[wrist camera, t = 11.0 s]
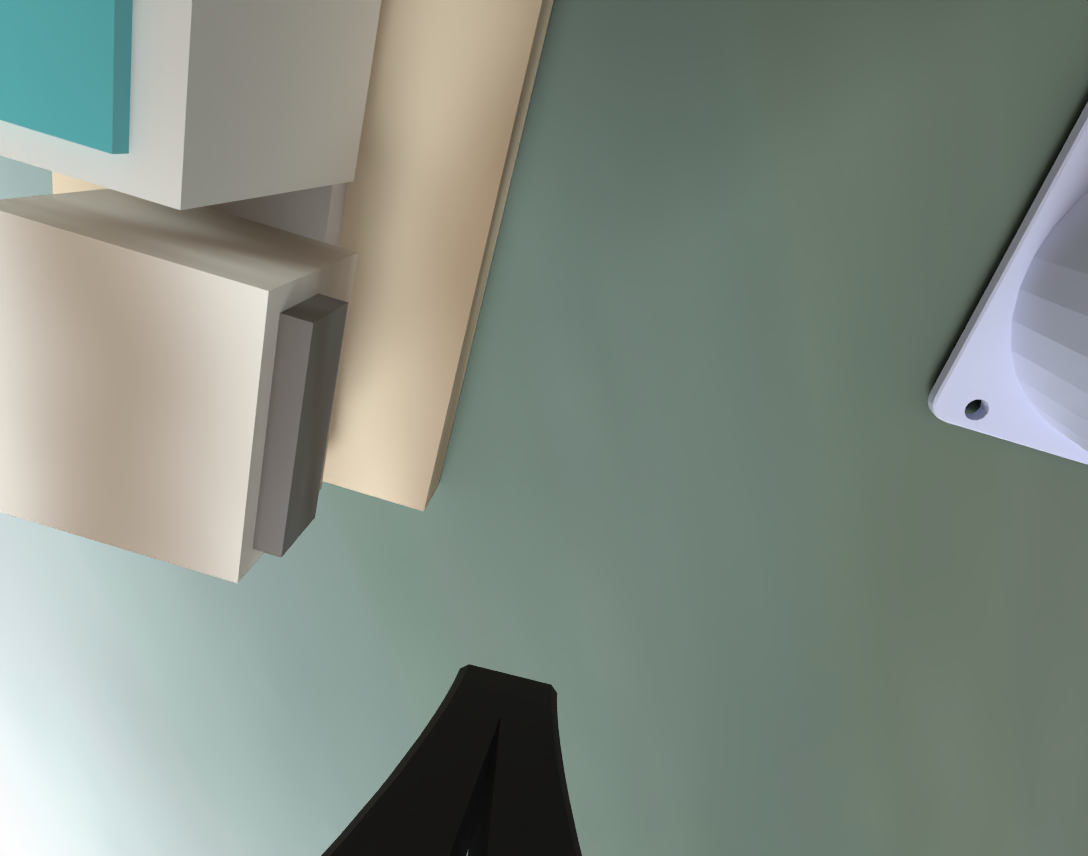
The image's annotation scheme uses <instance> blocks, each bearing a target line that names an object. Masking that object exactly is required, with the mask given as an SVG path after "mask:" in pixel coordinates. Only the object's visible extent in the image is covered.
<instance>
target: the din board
mask: <svg viewBox="0 0 1088 856" xmlns="http://www.w3.org/2000/svg"><path fill="white" fill-rule="evenodd" d="M553 2H554V0H382V1H381V8H380V14H379V21H378V27H377V34H376V40H375V47H374V53H373V60H372V66H371V73H370V79H369V86H368V92H367V99H366V105H365V112H364V118H363V124H362V131H361V137H360V144H359V150H358V157H357V163H356V170H355V176H354V181H352V182H346V183H340V184H334V185H328V186H322V187H316V188H310V189H304V190H298V191H292V192H286V193H280V194H274V195H268V196H262V197H257V198H251V199H245V200H239V201H233V202H227V203H221V204H215V205H209V206H203V207H197V208H191V209H185V210H178V209H174V208H171V207H168V206H165V205H161V204H158V203H155V202H152V201H148V200H145V199H142V198H138V197H135V196H132V195H129V194H125V193H122V192H119V191H116V190H112V189H109V188H106V187H102V186H99V185H96V184H93V183H89V182H86V181H83V180H80V179H76V178H73V177H70V176H66V175H63V174H60V173H57V172H53V171H52V179H53V194H51V195H41V196H32V197H22V198H12V199H3V200H0V512H2V513H5V514H9V515H12V516H15V517H19V518H22V519H25V520H29V521H32V522H35V523H39V524H42V525H45V526H48V527H52V528H55V529H58V530H62V531H65V532H68V533H72V534H75V535H78V536H82V537H85V538H88V539H92V540H95V541H98V542H102V543H105V544H108V545H112V546H115V547H118V548H122V549H125V550H128V551H132V552H135V553H138V554H142V555H145V556H148V557H152V558H155V559H158V560H162V561H165V562H168V563H172V564H175V565H178V566H182V567H185V568H188V569H192V570H195V571H198V572H202V573H205V574H208V575H212V576H215V577H218V578H222V579H225V580H228V581H232V582H235V583H238V582H239V581H240V580H241V579H242V578H243V576H244V575H245V574H246V573H247V572H248V571H249V570H250V569H251V567H252V566H253V565H254V564H255V563H256V562H257V561H258V559H259V558H260V557H261V556H262V555H263V554H264V553H268V554H271V555H275V556H278V557H282V556H283V555H284V554H285V552H286V551H287V550H288V549H289V548H290V546H291V545H292V544H293V543H294V542H295V540H296V539H297V538H298V537H299V536H300V534H301V533H302V532H303V531H304V530H305V528H306V527H307V526H308V525H309V524H310V522H311V521H312V520H313V519H314V518H315V513H316V506H317V500H318V494H319V490H320V489H321V486H322V481H324V482H327V483H331V484H334V485H337V486H341V487H344V488H347V489H351V490H354V491H357V492H361V493H364V494H367V495H371V496H374V497H377V498H381V499H384V500H387V501H391V502H394V503H397V504H401V505H404V506H407V507H411V508H414V509H417V510H421V511H424V510H425V508H426V507H427V505H428V503H429V501H430V499H431V498H432V496H433V494H434V492H435V490H436V489H437V487H438V485H439V481H440V477H441V472H442V468H443V464H444V460H445V456H446V451H447V447H448V443H449V439H450V435H451V430H452V426H453V422H454V418H455V414H456V409H457V405H458V401H459V397H460V393H461V388H462V384H463V380H464V376H465V372H466V367H467V363H468V359H469V355H470V351H471V346H472V342H473V338H474V334H475V330H476V325H477V321H478V317H479V313H480V309H481V304H482V300H483V296H484V292H485V288H486V283H487V279H488V275H489V271H490V266H491V262H492V258H493V254H494V250H495V245H496V241H497V237H498V233H499V229H500V224H501V220H502V216H503V212H504V208H505V203H506V199H507V195H508V191H509V187H510V182H511V178H512V174H513V170H514V166H515V161H516V157H517V153H518V149H519V145H520V140H521V136H522V132H523V128H524V124H525V119H526V115H527V111H528V107H529V103H530V98H531V94H532V90H533V86H534V82H535V77H536V73H537V69H538V65H539V60H540V56H541V52H542V48H543V44H544V39H545V35H546V31H547V27H548V23H549V18H550V14H551V10H552V6H553Z"/></svg>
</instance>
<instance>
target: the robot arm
mask: <svg viewBox="0 0 1088 856" xmlns="http://www.w3.org/2000/svg"><path fill="white" fill-rule="evenodd" d="M976 399H979V400H981V405H980V408H979V409H978V410H977V411H976V412H974V413H971V414H965V413H964V412H965V408H966V406H967V405H968V404H969V403H970V402H971V401H974V400H976ZM928 405H929V408H930V410H931V411H932V413H933V414H934V415H935V416H936V417H937V418H939V419H941V420H943V421H945V422H947V423H951V424H954V425H957V426H961V427H964V428H968V429H971V430H974V431H978V432H981V433H984V434H988V435H991V436H994V437H998V438H1001V439H1004V440H1008V441H1011V442H1014V443H1018V444H1021V445H1024V446H1028V447H1031V448H1034V449H1038V450H1041V451H1044V452H1048V453H1051V454H1054V455H1058V456H1061V457H1064V458H1068V459H1071V460H1074V461H1078V462H1081V463H1084V464H1088V102H1087V104H1086V106H1085V107H1084V109H1083V111H1082V113H1081V115H1080V117H1079V118H1078V120H1077V122H1076V124H1075V126H1074V128H1073V130H1072V131H1071V133H1070V135H1069V137H1068V139H1067V141H1066V142H1065V144H1064V146H1063V148H1062V150H1061V152H1060V154H1059V155H1058V157H1057V159H1056V161H1055V163H1054V165H1053V167H1052V168H1051V170H1050V172H1049V174H1048V176H1047V178H1046V179H1045V181H1044V183H1043V185H1042V187H1041V189H1040V191H1039V192H1038V194H1037V196H1036V198H1035V200H1034V202H1033V203H1032V205H1031V207H1030V209H1029V211H1028V213H1027V215H1026V216H1025V218H1024V220H1023V222H1022V224H1021V226H1020V228H1019V229H1018V231H1017V233H1016V235H1015V237H1014V239H1013V240H1012V242H1011V244H1010V246H1009V248H1008V250H1007V252H1006V253H1005V255H1004V257H1003V259H1002V261H1001V263H1000V264H999V266H998V268H997V270H996V272H995V274H994V276H993V277H992V279H991V281H990V283H989V285H988V287H987V288H986V290H985V292H984V294H983V296H982V298H981V300H980V301H979V303H978V305H977V307H976V309H975V311H974V313H973V314H972V316H971V318H970V320H969V322H968V324H967V325H966V327H965V329H964V331H963V333H962V335H961V337H960V338H959V340H958V342H957V344H956V346H955V348H954V349H953V351H952V353H951V355H950V357H949V359H948V361H947V362H946V364H945V366H944V368H943V370H942V372H941V374H940V375H939V377H938V379H937V381H936V383H935V385H934V386H933V388H932V390H931V392H930V395H929V398H928ZM468 849H469V850H468ZM467 852H468V856H582V854H581V850H580V846H579V842H578V837H577V833H576V828H575V823H574V819H573V814H572V809H571V805H570V800H569V795H568V790H567V784H566V779H565V773H564V767H563V760H562V753H561V747H560V738H559V729H558V717H557V692H556V691H555V689H554V688H553V686H552V685H550V684H546V683H542V682H538V681H534V680H530V679H526V678H522V677H518V676H514V675H510V674H506V673H502V672H498V671H494V670H490V669H486V668H481V667H477V666H473V665H467V666H465V667H462V668H460V670H459V672H458V674H457V676H456V678H455V681H454V682H453V684H452V686H451V688H450V690H449V691H448V693H447V695H446V697H445V698H444V700H443V702H442V703H441V705H440V706H439V708H438V710H437V711H436V713H435V714H434V716H433V717H432V719H431V720H430V722H429V723H428V725H427V726H426V727H425V729H424V730H423V732H422V733H421V735H420V736H419V738H418V739H417V740H416V742H415V743H414V744H413V746H412V747H411V748H410V750H409V751H408V752H407V754H406V755H405V756H404V758H403V759H402V760H401V762H400V763H399V764H398V766H397V767H396V768H395V770H394V771H393V772H392V774H391V775H390V776H389V777H388V779H387V780H386V781H385V782H384V784H383V785H382V786H381V787H380V789H379V790H378V791H377V792H376V793H375V795H374V796H373V797H372V798H371V799H370V800H369V802H368V803H367V804H366V805H365V806H364V808H363V809H362V810H361V811H360V812H359V813H358V815H357V816H356V817H355V818H354V819H353V820H352V822H351V823H350V824H349V825H348V826H347V827H346V829H345V830H344V831H343V832H342V833H341V835H340V836H339V837H338V838H337V839H336V840H335V841H334V842H333V843H332V845H331V846H330V847H329V848H328V849H327V850H326V851H325V852H324V853H323V854H322V855H321V856H466V855H467Z"/></svg>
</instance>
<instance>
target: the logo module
mask: <svg viewBox="0 0 1088 856" xmlns="http://www.w3.org/2000/svg"><path fill="white" fill-rule="evenodd" d="M381 1H382V0H0V155H1V156H4V157H8V158H11V159H14V160H17V161H21V162H24V163H27V164H30V165H34V166H37V167H40V168H44V169H47V170H50V171H53V172H57V173H60V174H63V175H66V176H70V177H73V178H76V179H80V180H83V181H86V182H89V183H93V184H96V185H99V186H102V187H106V188H109V189H112V190H116V191H119V192H122V193H125V194H129V195H132V196H135V197H138V198H142V199H145V200H148V201H152V202H155V203H158V204H161V205H165V206H168V207H171V208H174V209H178V210H185V209H191V208H197V207H203V206H209V205H215V204H221V203H227V202H233V201H239V200H245V199H251V198H257V197H262V196H268V195H274V194H280V193H286V192H292V191H298V190H304V189H310V188H316V187H322V186H328V185H334V184H340V183H346V182H352V181H354V176H355V170H356V163H357V157H358V150H359V144H360V137H361V131H362V124H363V118H364V112H365V105H366V99H367V92H368V86H369V79H370V73H371V66H372V60H373V53H374V47H375V40H376V34H377V27H378V21H379V14H380V8H381Z"/></svg>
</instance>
